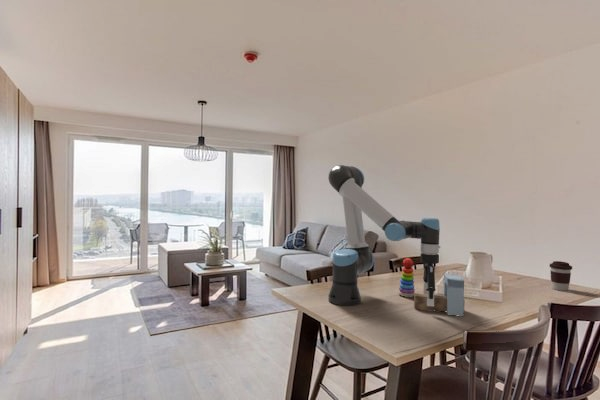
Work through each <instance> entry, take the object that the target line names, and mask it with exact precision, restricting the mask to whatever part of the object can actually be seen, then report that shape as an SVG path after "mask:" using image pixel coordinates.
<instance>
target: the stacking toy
mask: <svg viewBox="0 0 600 400" xmlns="http://www.w3.org/2000/svg"><path fill="white" fill-rule="evenodd" d="M402 265H403V267H402V273H401V279H400V283H399V288H398V295H399V296H400V295H401V296H400V297H403V296H405V297H404V298H414V297H413V296H414V293H415V291H416V290H415V285H414V284H415V281H414V280H415V277H414V272H413V271H414V269H413V267H414V261H413V260H412V258H409V257H406V258H404V259H403V261H402Z"/></svg>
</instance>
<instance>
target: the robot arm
mask: <svg viewBox="0 0 600 400" xmlns="http://www.w3.org/2000/svg"><path fill="white" fill-rule="evenodd" d="M328 182H329V185H330V186H331V187H332V188H333V189H334V190H335V191H336V192H337V193H338V195H340V196H341V197H342V203H343V211H344V220H345V229H346V237H347V244H346V246H345V248H344V249H339V250H336V251H334V253H333V255H332V282H331V283H332V285H331V286H330V289H329V292H328V297H327V300H328V302H330V303H331V302H332V304H333V305H337V304H339V305H338V306H346V305H349V306H355V305H354V304H357V305H359V304H360V303H361V302H362V297H361V292H360V290H359V286H358V275H361V274H364V273H367V272H368V271H369V270H371V269H372V268H373V266H374V263H375V258H374V254H373V253H372V251H370V246H369V244H368V243H367V242H366V239H365V232H364V231H365V230H364V221H363V213H364V214H365V215H366V216H367V217H368V218H370V220H371V221H372V222H373V223H374V224H376V226H377V227H378V228H380V229H381V230H382V231H383V232H384V234H385V237H386V239H388V240H389V241H392V242H398V241H399V242H400V241H402V240H405V239H417V240H418V239H419V240H420V252H421V253H420V259H419V260H420V262H421V263H424V265H423V277H422V279H423V293H422V294H427V306H433V307H434V295H435V292H436V279H435V278H436V277H435V275H436V274H435V271H436V268H435V266H434V264H438V263H439V260H440V257H439V256H440V255H439V252H440V250H439V249H441V246H440V231H441V228H440V219H438V218H435V217H422V218H421V221H410V220H409V221H408V220H407V221H406V220H398V219H397V218H396V217H395V216H394V215H393V214H392V213H390V212H389V211H388V210H387V209H386V208H385V207H383V205H381V204H380V203H379V202H378V201H377V200H376V199H374V198H373V196H371V195H370V194H369V193H368V192H367V191H365V190H364V189H363V188H362V187H363V186H364V183H365V175H364V173H363V171H361V170H360V169H359V168H358V167H355V166H352V165H351V166H349V165H343V164H340V165H339V164H338V165H335V166H333V167H332V168H331V169H330V171H329V173H328ZM362 212H363V213H362ZM358 303H359V304H358Z"/></svg>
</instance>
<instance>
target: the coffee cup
mask: <svg viewBox="0 0 600 400" xmlns="http://www.w3.org/2000/svg"><path fill="white" fill-rule="evenodd" d="M549 268H550V282H551V289H553V290H555V291H560V292H567V291H569V287H570V283H571V274H572V272H571V270H573V266H572V265H570V263H568V262H566V261H561V260H560V261H557V260H556V261H555V260H553V262H552V263H549Z"/></svg>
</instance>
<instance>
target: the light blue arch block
mask: <svg viewBox="0 0 600 400" xmlns="http://www.w3.org/2000/svg"><path fill="white" fill-rule="evenodd" d="M442 290H443V291H442V293H443V295H442V296H447V312H446V315H447V314H448V315H459V316H463V317H464V314H463V308H464V309H465V302H464V300H465V299H464V298H465V280H464V279H463V278H462V277H461V275H459V274H458V273H457V274H456V273H455V274H454V273H443V289H442ZM448 315H447V316H448Z"/></svg>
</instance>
